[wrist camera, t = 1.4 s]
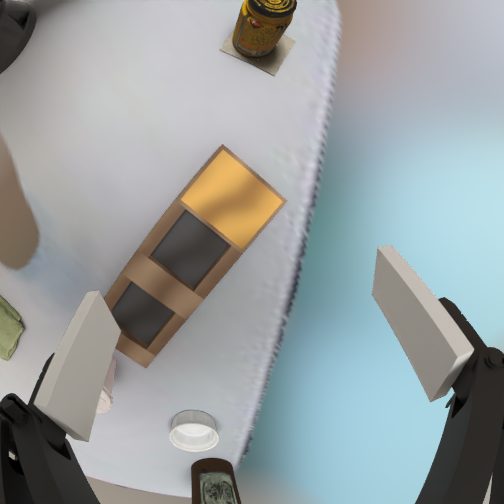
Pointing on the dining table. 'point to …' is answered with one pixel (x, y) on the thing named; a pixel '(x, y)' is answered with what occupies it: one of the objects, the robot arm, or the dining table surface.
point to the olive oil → (214, 482)
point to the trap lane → (189, 253)
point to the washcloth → (8, 329)
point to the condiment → (262, 33)
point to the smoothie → (107, 390)
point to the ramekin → (193, 431)
